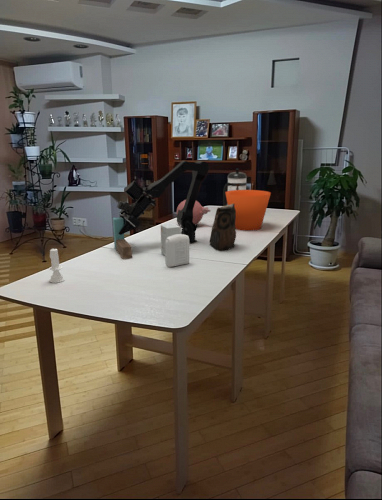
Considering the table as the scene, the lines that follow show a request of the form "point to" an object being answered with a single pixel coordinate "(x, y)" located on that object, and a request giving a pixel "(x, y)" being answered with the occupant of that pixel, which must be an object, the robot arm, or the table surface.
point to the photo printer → (176, 250)
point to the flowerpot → (248, 208)
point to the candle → (55, 267)
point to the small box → (168, 234)
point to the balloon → (195, 211)
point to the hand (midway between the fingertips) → (117, 232)
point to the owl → (224, 228)
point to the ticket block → (124, 248)
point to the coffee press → (234, 183)
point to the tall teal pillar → (117, 229)
